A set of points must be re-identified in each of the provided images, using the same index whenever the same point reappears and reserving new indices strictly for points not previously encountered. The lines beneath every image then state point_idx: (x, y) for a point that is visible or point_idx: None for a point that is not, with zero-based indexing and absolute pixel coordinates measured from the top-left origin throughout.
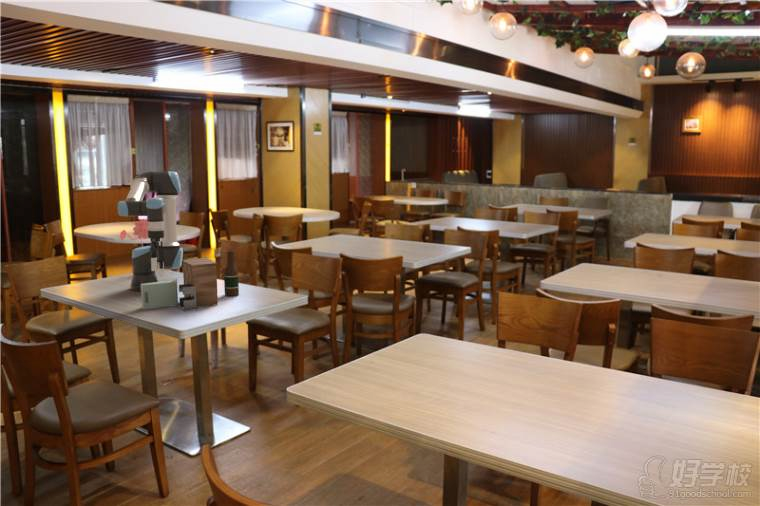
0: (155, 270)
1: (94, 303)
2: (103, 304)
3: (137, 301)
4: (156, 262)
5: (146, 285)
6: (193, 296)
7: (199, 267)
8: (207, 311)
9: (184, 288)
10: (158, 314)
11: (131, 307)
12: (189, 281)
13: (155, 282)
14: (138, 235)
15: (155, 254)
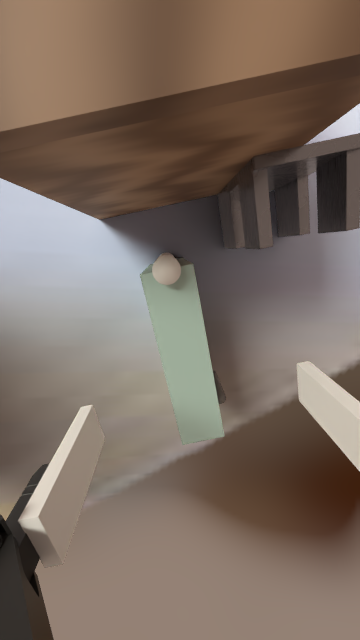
0: (96, 419)
1: None
2: (95, 479)
3: (75, 393)
4: (67, 467)
5: (220, 417)
6: (300, 174)
7: None
8: (337, 133)
9: (355, 219)
10: (294, 327)
11: (162, 407)
12: (213, 164)
13: (172, 379)
14: None
15: (30, 595)
